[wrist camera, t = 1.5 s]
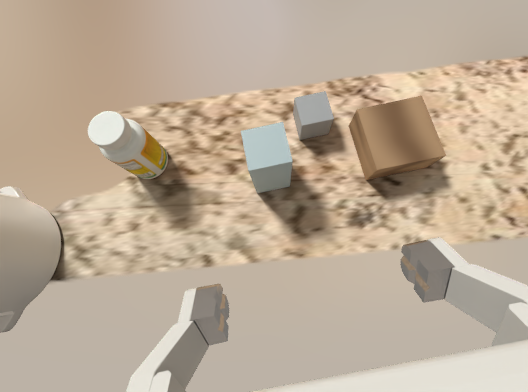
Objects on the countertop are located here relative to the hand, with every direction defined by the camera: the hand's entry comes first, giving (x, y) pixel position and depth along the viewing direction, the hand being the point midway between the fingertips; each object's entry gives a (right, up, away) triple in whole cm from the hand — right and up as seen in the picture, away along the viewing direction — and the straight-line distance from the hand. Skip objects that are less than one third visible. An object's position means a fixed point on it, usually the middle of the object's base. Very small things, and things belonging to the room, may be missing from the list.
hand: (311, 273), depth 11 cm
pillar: (-1, +6, +23) cm, 24 cm away
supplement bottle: (-18, +8, +25) cm, 32 cm away
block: (+4, +13, +24) cm, 28 cm away
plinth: (+14, +10, +23) cm, 29 cm away
